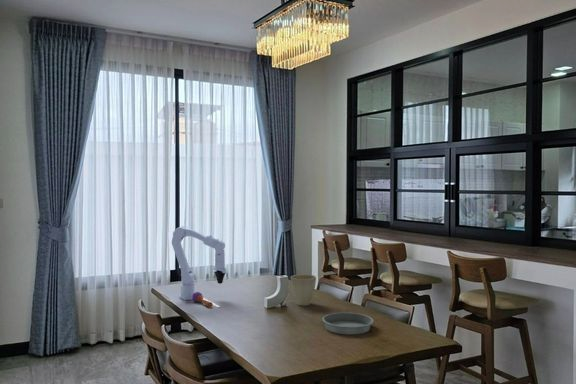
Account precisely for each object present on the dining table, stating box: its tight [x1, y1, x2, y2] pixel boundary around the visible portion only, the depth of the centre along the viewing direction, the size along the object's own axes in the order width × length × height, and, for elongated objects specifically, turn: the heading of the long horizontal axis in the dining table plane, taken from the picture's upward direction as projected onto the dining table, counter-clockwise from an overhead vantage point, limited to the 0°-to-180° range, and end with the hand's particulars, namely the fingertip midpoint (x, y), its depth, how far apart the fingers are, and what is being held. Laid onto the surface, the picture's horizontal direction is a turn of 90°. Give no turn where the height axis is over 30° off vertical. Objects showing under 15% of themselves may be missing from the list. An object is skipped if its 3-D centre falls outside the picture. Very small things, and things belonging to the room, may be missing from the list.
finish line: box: [203, 297, 221, 308], centre depth 286 cm, size 26×2×1 cm, turn 32°
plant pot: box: [290, 274, 317, 307], centre depth 281 cm, size 15×15×16 cm
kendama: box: [191, 291, 214, 308], centre depth 283 cm, size 6×6×20 cm
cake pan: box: [321, 311, 374, 335], centre depth 235 cm, size 25×25×4 cm
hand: (219, 283), depth 296 cm, fingers closed
